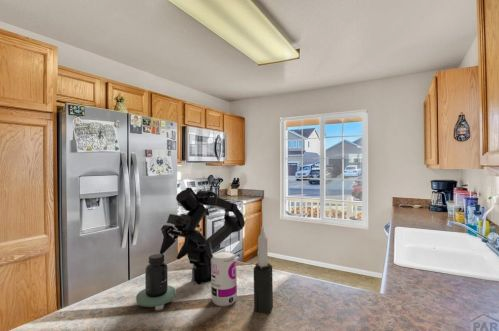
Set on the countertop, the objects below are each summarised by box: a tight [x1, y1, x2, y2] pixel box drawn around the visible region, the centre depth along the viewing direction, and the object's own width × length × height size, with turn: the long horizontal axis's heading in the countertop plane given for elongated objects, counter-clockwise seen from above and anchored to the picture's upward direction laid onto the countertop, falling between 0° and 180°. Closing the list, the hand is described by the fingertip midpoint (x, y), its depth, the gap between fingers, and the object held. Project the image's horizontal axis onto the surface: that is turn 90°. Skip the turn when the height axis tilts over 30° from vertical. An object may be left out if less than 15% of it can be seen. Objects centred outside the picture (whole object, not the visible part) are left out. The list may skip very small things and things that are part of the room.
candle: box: [253, 226, 274, 315], centre depth 81 cm, size 5×5×25 cm
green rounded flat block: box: [135, 285, 177, 311], centre depth 86 cm, size 12×12×3 cm
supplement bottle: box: [144, 253, 169, 297], centre depth 86 cm, size 7×7×12 cm
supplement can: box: [210, 250, 238, 307], centre depth 86 cm, size 8×8×15 cm
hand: (168, 256), depth 90 cm, fingers open, 9 cm apart
